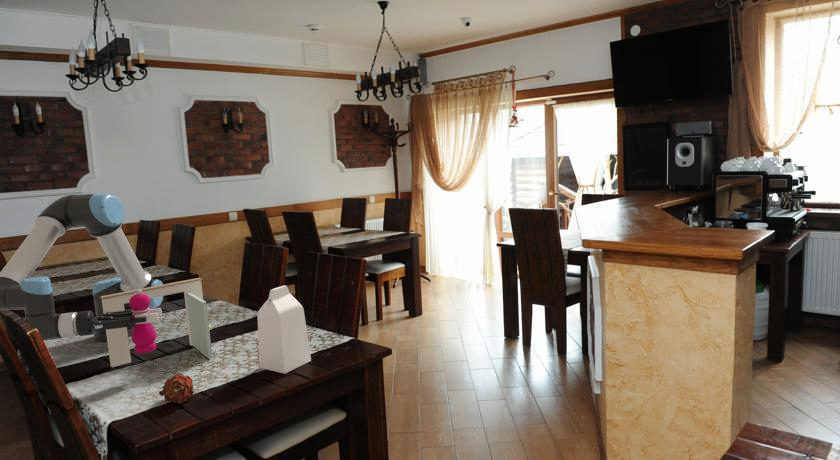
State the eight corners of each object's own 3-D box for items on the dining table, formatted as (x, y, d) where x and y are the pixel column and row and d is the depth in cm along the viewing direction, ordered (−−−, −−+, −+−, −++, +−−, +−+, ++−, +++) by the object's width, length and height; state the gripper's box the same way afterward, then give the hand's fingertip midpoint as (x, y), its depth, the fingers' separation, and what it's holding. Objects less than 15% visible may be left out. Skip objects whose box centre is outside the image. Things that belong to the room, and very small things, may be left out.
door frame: (109, 366, 191) (100, 296, 188) (206, 340, 214) (199, 277, 210) (111, 367, 189) (102, 297, 186) (208, 341, 212) (202, 278, 208)
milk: (285, 373, 176) (277, 293, 172) (259, 367, 182) (252, 290, 179) (311, 360, 186) (304, 284, 183) (286, 355, 192) (279, 282, 189)
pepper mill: (163, 347, 180) (156, 287, 178) (144, 355, 174) (136, 292, 171) (146, 345, 183) (139, 286, 180) (128, 353, 176) (120, 291, 174)
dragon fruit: (184, 414, 155) (172, 406, 164) (206, 388, 159) (193, 383, 168) (161, 395, 151) (150, 389, 161) (184, 370, 155) (172, 365, 165)
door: (208, 358, 192) (202, 302, 189) (192, 344, 207) (186, 292, 205) (216, 356, 193) (210, 300, 190) (199, 343, 209) (193, 291, 206)
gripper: (89, 327, 181) (166, 318, 187) (70, 344, 164) (155, 334, 170) (85, 305, 180) (163, 296, 186) (66, 320, 163) (152, 310, 169)
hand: (159, 314), depth 178 cm, fingers closed on pepper mill, 5 cm apart
